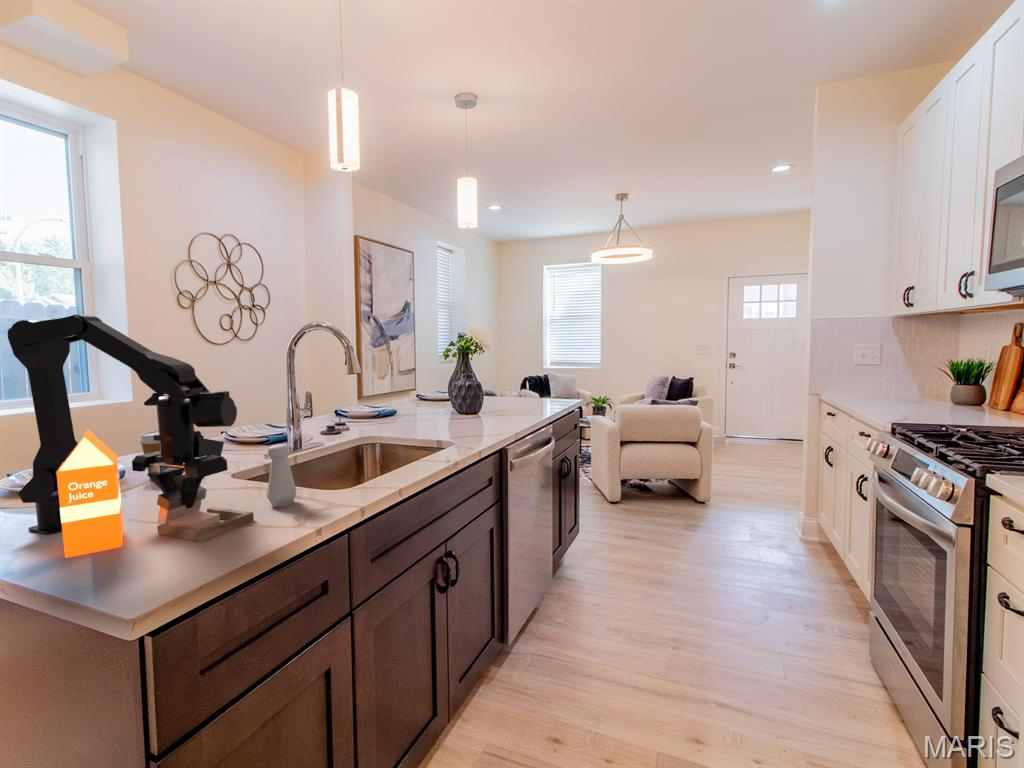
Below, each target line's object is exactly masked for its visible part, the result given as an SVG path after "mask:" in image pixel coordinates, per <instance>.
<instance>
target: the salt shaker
mask: <svg viewBox="0 0 1024 768" xmlns="http://www.w3.org/2000/svg"><path fill="white" fill-rule="evenodd" d="M267 455H268V457H269V458H271V465H270V471H269V477H268V478H269V479H268V483H267V491H266V499H268V501H269V503H270V504H271V506H272V508H284V507H289V506H291V505H292V504H294V501H295V498H296V495H297V488H296V484H295V480H294V477H293V472H292V470H291V469H292V468H291V465H290V461H289V457H288V456H290V455H291V447H290V446H289V445H288V444H285V443H278V444H277V443H276V444H274V445H271V446H270V447H268V449H267Z"/></svg>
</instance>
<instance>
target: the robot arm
mask: <svg viewBox="0 0 1024 768" xmlns="http://www.w3.org/2000/svg"><path fill="white" fill-rule="evenodd" d="M7 340H8V343H9V345H10V348H11V350H12V354H13V356H14V357H15V358H16V359H17V360H18V361H19V362H20V363H21V364H22V365H23V367H25V369H26V371H27V374H28V379H29V385H30V393H31V396H32V404H33V407H34V408H33V409H34V414H35V420H36V421H35V422H36V424H37V425H36V426H37V431H38V439H39V444H40V446H39V448H38V450H37V453H36V454H35V457H34V458H33V461H32V478H30V479H29V481H28V482H26V484H25V485H23V487H22V488H21V489H20V490H19V491H18V496H19V498H20V501H22V503H24V504H33V503H35V512H36V513H35V514H36V522H37V524H35V525H33V526H30V527H28V529H27V530H28V531H30V532H35V533H41V534H46V535H50V534H54V533H57V532H60V531H62V523H61V516H60V502H59V492H58V482H57V473H56V472H57V470H58V469H59V468H60V466H61V465H62V463H63V462H66V461H65V460H66V459H67V458H69V457H68V456H69V455H70V454H72V453H73V452H72V451H73V450H75V449H76V448H75V447H76V446H78V445H79V444H80V443H79V442H78V441H76V438H75V437H76V436H75V431H74V425H73V419H72V415H71V414H72V413H71V408H70V403H69V402H70V401H69V396H68V391H67V390H68V389H67V385H66V384H67V383H66V379H65V372H64V365H65V363H66V361H67V360H68V359H67V358H68V356H69V355H70V352H71V343H72V344H73V343H76V342H80V341H84V342H86V343H87V344H89V345H91V346H92V347H94V348H96V349H97V350H99V351H101V352H103V353H104V354H106V355H108V356H109V357H111V358H113V359H114V360H116V361H118V362H120V363H121V364H124V365H125V366H126V367H129V368H130V369H131V370H132V371H134V372H135V373H136V374H137V376H138V378H139V380H140V381H141V382H142V383H144V384H145V386H147V387H148V388H150V390H152V391H153V393H152V395H151V396H150V397H149V398H147V399H146V400H145V401H144V402H143V405H144V406H148V407H149V406H156V412H157V413H156V415H157V426H158V431H159V434H157V435H153V436H154V440H155V441H160V451H156V452H152V453H147V454H144V453H143V454H139V455H135V457H134V458H133V459H132V461H131V467H132V471H133V472H145V471H146V470H147V467H151V473H148V472H147V477H148V478H149V477H151V478H152V480H151V481H152V482H154V483H155V484H156V486H157V487H158V488H159V489H160V490H161V492H162V494H163V493H167V492H170V491H173V490H177V489H179V492H180V494H181V497H182V500H183V502H184V504H185V506H186V508H187V509H189V508H192V507H193V505H194V502H195V498H196V495H197V492H198V489H199V486H201V483H202V482H203V480H204V478H205V477H208V476H211V475H215V474H218V473H223V472H226V471H228V468H229V467H228V459H226V458H225V456H222V453H223V449H224V444H225V441H221V440H215V439H209V438H205V437H204V435H202V432H201V431H200V430H195V427H197V428H215V427H216V428H221V427H223V428H224V427H226V428H227V427H232V426H234V424H235V422H236V420H237V415H238V409H237V406H236V404H235V401H234V400H233V398H231V397H230V391H229V390H222V391H217V392H215V391H214V392H211V391H210V390H209V389H208V388H207V387H206V386H205V385H204V383H203V382H202V381H201V380H200V378H198V376H197V375H196V369H195V368H194V367H193V366H192V365H191V364H189V363H187V362H185V361H183V360H180V359H177V358H175V357H172V356H168V355H166V354H165V355H164V354H160V353H157V352H154V351H152V350H151V349H149V348H147V347H146V346H144V345H143V344H141V343H139V342H137V341H135V340H134V339H132V338H131V337H129V336H127V335H126V334H124V333H122V332H121V331H118V330H117V329H116V328H113V327H112V326H110V325H108V324H106V323H105V322H103V321H102V320H101V318H99V317H97V316H95V315H88V314H87V315H86V314H72V315H70V316H66V317H61V318H52V319H46V320H30V319H29V320H25V319H24V320H18V321H16V322H15V323H13V324H12V325H11V327H9V328H8V330H7ZM78 443H79V444H78ZM77 444H78V445H77ZM74 448H75V449H74ZM71 452H72V453H71Z"/></svg>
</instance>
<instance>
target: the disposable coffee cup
mask: <svg viewBox="0 0 1024 768" xmlns="http://www.w3.org/2000/svg"><path fill="white" fill-rule="evenodd" d="M157 434H159V430H152V431H147V432H142V433H140V436H139V438H138V442H139V443H140V444H141V448H142V453H143V454H147V453H152V452H156V451H160V441H155V440H154V436H153V435H157ZM146 470H147V474H148V473H151V467H147V468H146ZM148 479H149V480H150V481H153V480H152V478H151V477H149V476H148Z"/></svg>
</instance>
